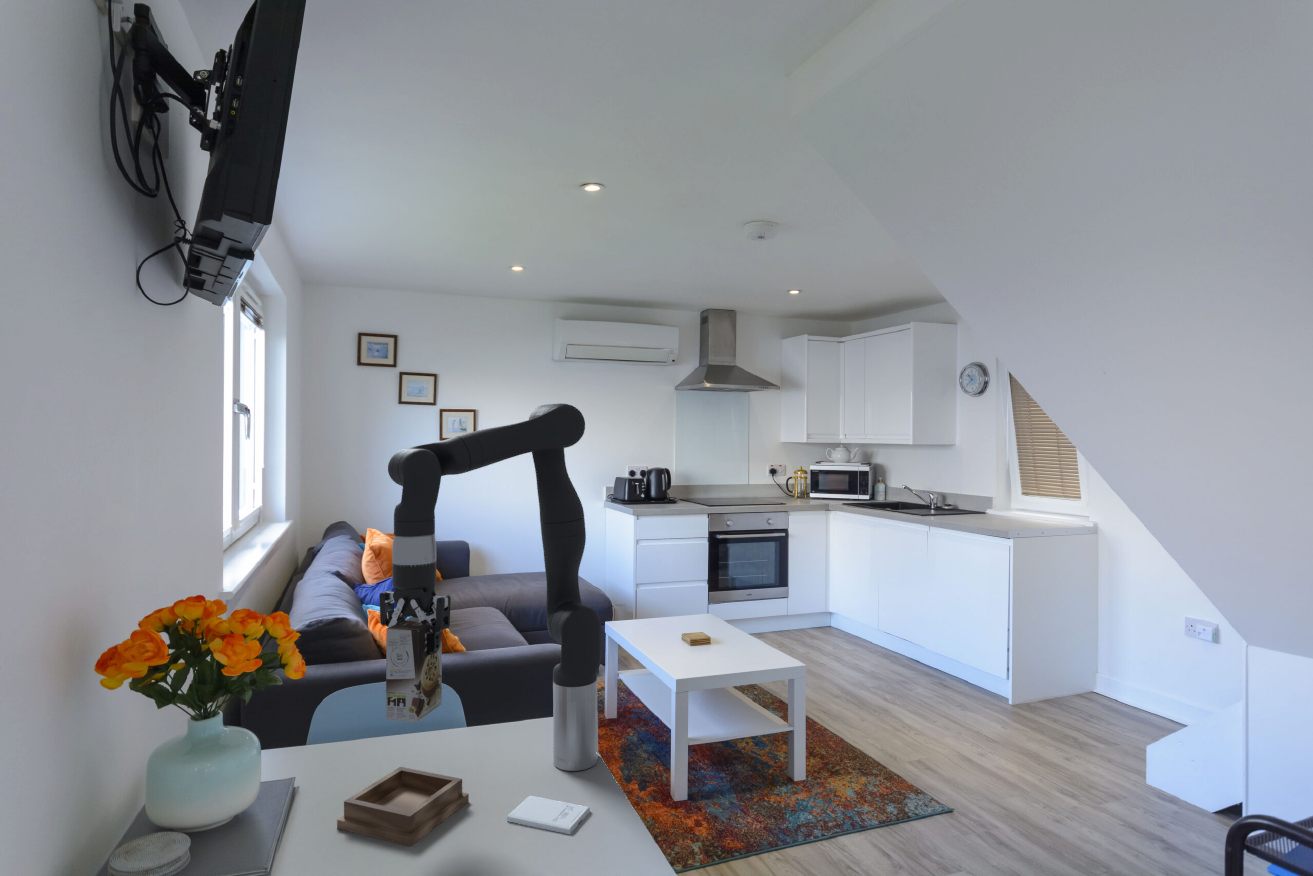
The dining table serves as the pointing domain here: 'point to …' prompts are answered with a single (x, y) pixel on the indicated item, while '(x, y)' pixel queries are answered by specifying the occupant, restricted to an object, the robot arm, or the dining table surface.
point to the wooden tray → (403, 805)
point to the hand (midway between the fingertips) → (414, 651)
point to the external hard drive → (548, 814)
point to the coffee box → (411, 672)
